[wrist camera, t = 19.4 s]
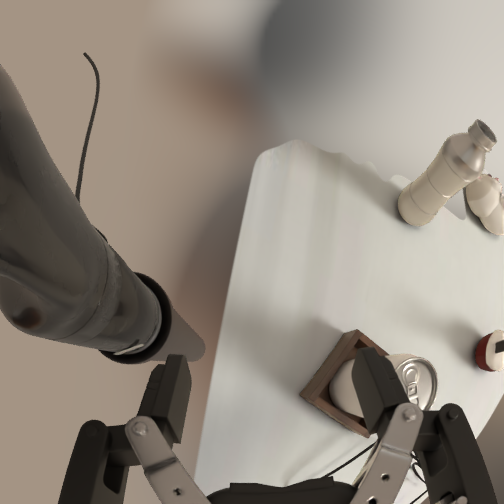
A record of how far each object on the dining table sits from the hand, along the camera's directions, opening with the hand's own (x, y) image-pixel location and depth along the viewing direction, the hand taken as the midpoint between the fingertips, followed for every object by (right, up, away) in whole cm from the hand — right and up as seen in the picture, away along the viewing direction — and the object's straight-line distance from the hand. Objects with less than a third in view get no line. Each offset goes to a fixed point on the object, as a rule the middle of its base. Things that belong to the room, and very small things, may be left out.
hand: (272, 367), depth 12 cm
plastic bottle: (+24, +11, +27) cm, 38 cm away
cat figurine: (+44, +13, +30) cm, 55 cm away
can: (+11, -10, +16) cm, 22 cm away
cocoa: (+35, -11, +19) cm, 42 cm away
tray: (+11, -10, +17) cm, 23 cm away
